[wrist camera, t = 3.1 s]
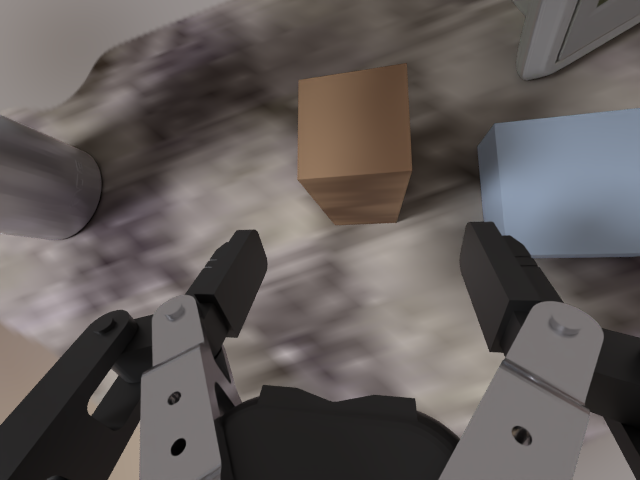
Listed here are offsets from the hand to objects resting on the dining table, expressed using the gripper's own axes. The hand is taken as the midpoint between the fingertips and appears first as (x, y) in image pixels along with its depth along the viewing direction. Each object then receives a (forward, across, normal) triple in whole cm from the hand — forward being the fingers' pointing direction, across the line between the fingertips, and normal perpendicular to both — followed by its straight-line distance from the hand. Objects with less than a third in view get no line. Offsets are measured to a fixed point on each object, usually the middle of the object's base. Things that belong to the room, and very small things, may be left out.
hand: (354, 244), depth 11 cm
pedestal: (+10, -12, +4) cm, 16 cm away
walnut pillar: (+10, 0, +3) cm, 11 cm away
